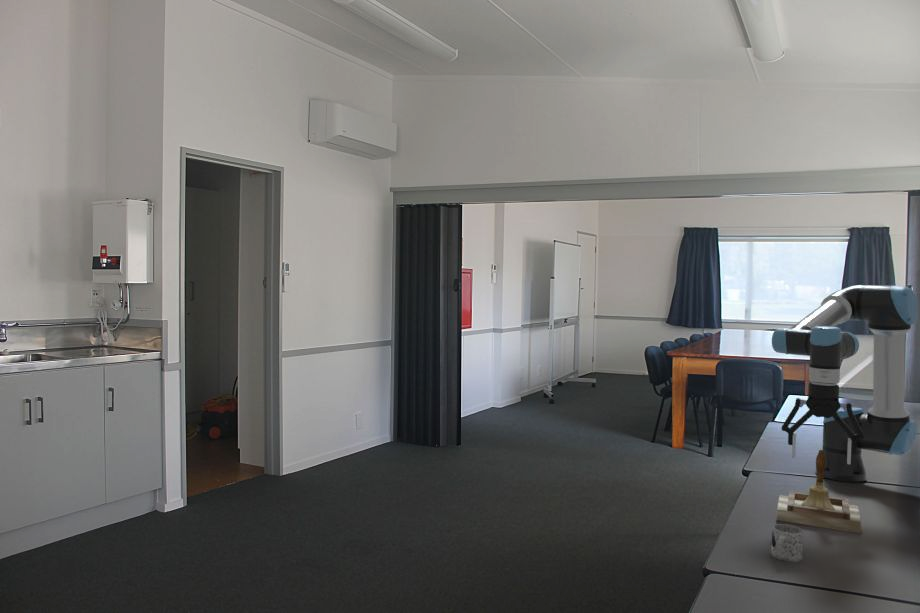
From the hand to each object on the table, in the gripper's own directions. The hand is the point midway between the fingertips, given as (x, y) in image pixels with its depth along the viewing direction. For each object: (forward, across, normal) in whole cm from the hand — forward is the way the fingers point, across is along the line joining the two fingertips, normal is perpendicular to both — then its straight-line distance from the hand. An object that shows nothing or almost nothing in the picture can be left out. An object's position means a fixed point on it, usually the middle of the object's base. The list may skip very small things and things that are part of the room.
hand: (820, 460), depth 201 cm
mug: (+16, -7, -37) cm, 41 cm away
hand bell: (+13, 0, 0) cm, 13 cm away
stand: (+16, 0, -1) cm, 16 cm away
